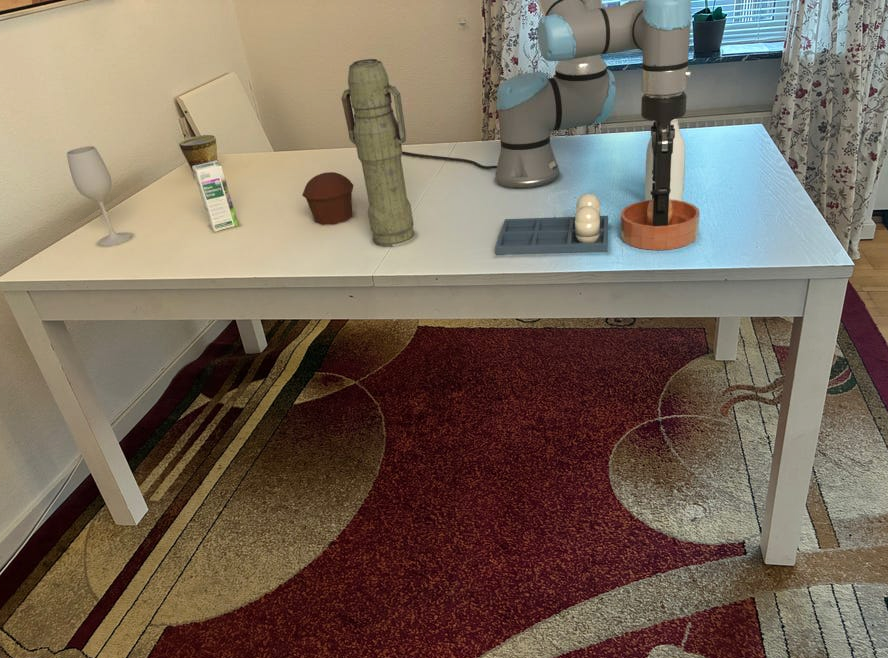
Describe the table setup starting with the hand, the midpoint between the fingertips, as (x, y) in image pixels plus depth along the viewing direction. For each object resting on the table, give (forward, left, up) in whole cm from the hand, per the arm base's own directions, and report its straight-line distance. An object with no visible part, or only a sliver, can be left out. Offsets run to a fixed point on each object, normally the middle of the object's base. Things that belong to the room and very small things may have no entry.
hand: (659, 221), depth 138 cm
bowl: (0, 0, -3) cm, 3 cm away
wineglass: (-77, -96, -3) cm, 123 cm away
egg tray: (-12, -16, -3) cm, 20 cm away
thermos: (-34, -42, -3) cm, 54 cm away
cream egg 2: (-5, -13, -3) cm, 14 cm away
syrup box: (-68, -72, -3) cm, 99 cm away
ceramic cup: (-116, -70, -3) cm, 135 cm away
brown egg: (0, 0, -3) cm, 3 cm away
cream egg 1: (-10, -9, -3) cm, 14 cm away
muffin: (-55, -49, -3) cm, 74 cm away
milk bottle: (-13, +11, -3) cm, 17 cm away
